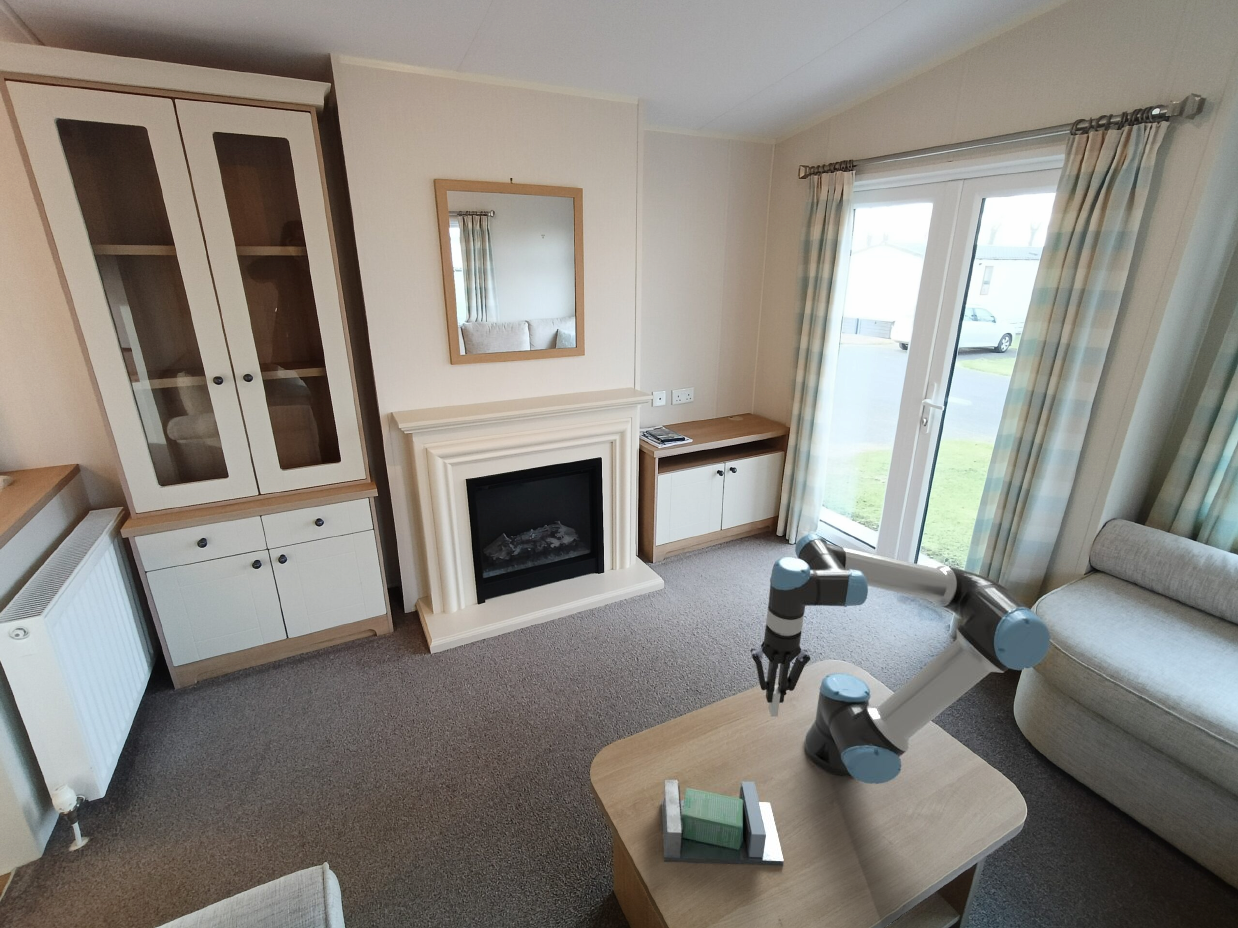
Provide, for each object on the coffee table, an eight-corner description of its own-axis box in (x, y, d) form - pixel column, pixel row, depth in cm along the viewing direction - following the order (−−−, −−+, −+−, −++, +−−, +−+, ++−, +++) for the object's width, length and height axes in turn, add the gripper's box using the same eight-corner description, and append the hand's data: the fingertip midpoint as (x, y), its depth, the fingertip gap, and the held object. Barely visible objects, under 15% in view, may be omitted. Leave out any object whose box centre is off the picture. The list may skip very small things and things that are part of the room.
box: (741, 851, 125) (743, 826, 123) (680, 838, 128) (681, 814, 125) (741, 820, 132) (743, 797, 129) (683, 809, 135) (684, 786, 132)
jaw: (751, 803, 136) (754, 781, 134) (763, 857, 124) (766, 834, 121) (737, 802, 136) (739, 781, 134) (747, 856, 124) (750, 833, 122)
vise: (769, 807, 137) (772, 780, 134) (783, 865, 124) (787, 837, 121) (661, 803, 138) (662, 777, 135) (664, 861, 125) (665, 834, 122)
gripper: (809, 616, 126) (797, 700, 134) (750, 615, 126) (741, 699, 134) (819, 637, 119) (805, 725, 127) (756, 636, 119) (747, 723, 127)
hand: (772, 711), depth 131 cm, fingers closed
